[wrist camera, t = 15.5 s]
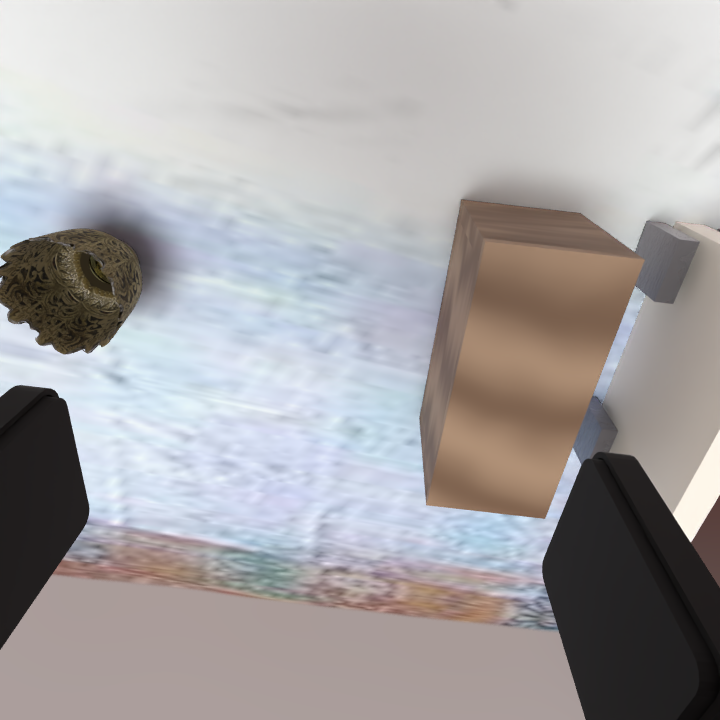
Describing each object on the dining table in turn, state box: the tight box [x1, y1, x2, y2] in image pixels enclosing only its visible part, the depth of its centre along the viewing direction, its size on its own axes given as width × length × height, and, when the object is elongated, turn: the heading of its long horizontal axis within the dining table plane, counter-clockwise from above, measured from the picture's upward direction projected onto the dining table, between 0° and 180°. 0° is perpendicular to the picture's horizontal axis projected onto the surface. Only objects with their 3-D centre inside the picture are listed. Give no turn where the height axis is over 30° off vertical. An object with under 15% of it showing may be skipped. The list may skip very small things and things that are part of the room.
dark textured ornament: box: [0, 229, 142, 354], centre depth 34 cm, size 8×7×8 cm
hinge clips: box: [573, 221, 720, 465], centre depth 37 cm, size 18×6×4 cm, turn 174°
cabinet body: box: [419, 200, 645, 519], centre depth 34 cm, size 18×8×10 cm, turn 174°
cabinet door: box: [602, 222, 720, 542], centre depth 33 cm, size 18×3×12 cm, turn 174°
